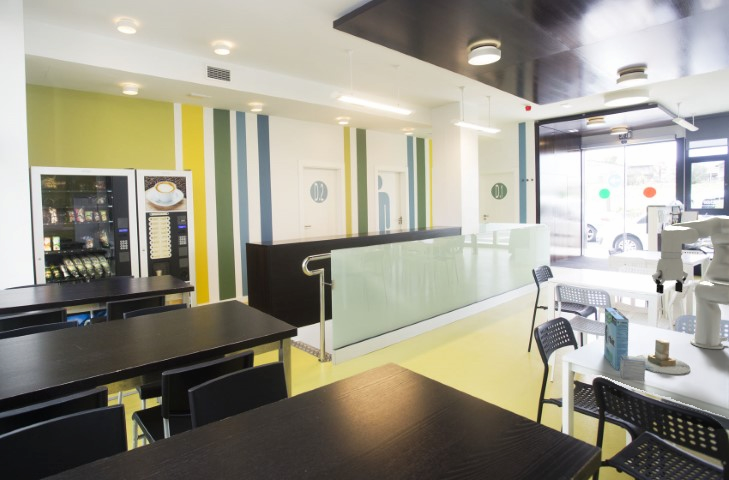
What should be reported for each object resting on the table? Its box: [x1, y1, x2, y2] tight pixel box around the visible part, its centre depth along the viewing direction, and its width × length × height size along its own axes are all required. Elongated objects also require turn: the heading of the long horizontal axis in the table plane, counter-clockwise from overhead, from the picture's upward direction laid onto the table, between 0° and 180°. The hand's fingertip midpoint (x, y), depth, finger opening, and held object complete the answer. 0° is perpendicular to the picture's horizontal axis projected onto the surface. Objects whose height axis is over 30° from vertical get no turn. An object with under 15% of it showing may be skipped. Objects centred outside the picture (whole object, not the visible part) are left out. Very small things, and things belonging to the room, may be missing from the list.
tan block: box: [654, 339, 670, 360], centre depth 182 cm, size 4×4×10 cm
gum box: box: [603, 307, 629, 371], centre depth 186 cm, size 20×5×23 cm, turn 162°
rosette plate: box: [635, 354, 691, 376], centre depth 183 cm, size 20×20×4 cm
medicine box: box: [619, 355, 646, 382], centre depth 171 cm, size 8×4×9 cm, turn 71°
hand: (669, 292), depth 190 cm, fingers open, 9 cm apart
